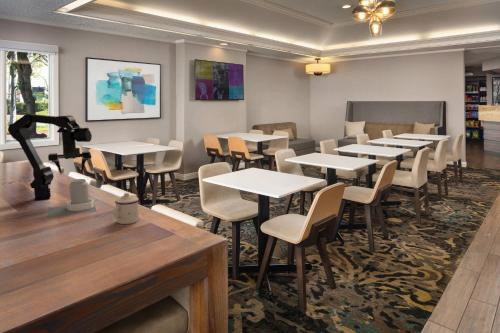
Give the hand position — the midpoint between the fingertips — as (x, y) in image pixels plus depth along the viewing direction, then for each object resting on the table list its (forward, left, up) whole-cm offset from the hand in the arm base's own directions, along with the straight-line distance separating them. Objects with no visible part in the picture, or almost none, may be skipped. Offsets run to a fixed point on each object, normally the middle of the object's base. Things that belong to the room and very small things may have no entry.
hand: (71, 173), depth 185 cm
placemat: (-1, -21, -13) cm, 25 cm away
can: (+2, -19, -12) cm, 23 cm away
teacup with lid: (+18, -48, -13) cm, 53 cm away
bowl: (+2, -19, -13) cm, 23 cm away
